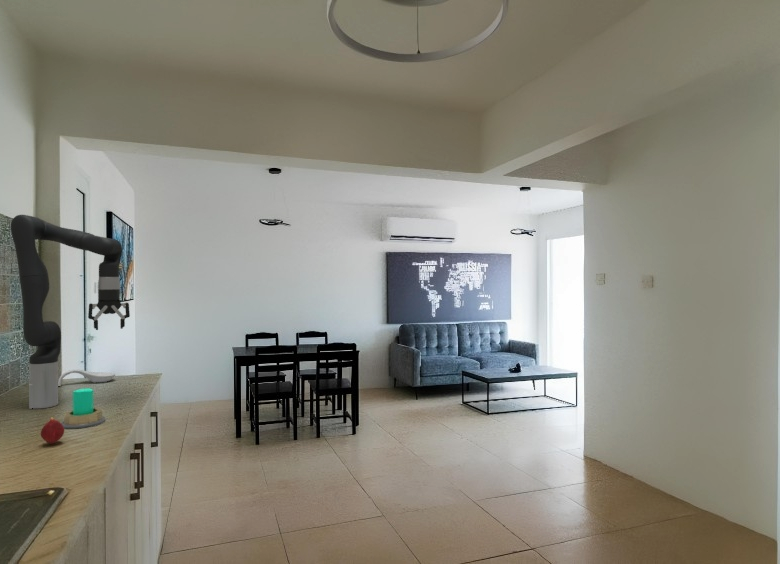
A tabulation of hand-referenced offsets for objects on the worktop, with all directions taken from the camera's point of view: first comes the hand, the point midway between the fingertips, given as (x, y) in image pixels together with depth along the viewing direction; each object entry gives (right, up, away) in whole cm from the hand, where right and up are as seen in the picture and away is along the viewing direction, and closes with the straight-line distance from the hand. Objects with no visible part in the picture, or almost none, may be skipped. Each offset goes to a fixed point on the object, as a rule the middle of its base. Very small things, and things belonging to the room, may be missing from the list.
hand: (109, 329), depth 194 cm
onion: (+9, -31, -46) cm, 56 cm away
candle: (+5, -29, -25) cm, 39 cm away
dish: (+5, -30, -25) cm, 40 cm away
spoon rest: (-34, -30, +41) cm, 61 cm away
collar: (+5, -30, -25) cm, 40 cm away
